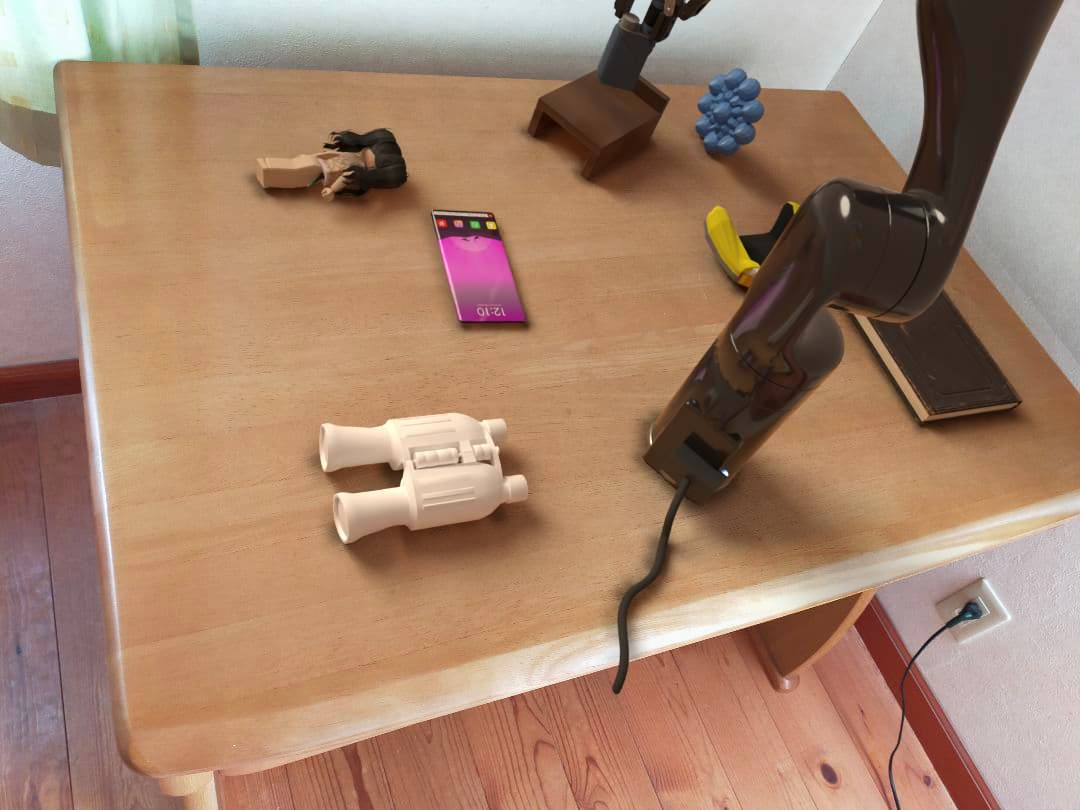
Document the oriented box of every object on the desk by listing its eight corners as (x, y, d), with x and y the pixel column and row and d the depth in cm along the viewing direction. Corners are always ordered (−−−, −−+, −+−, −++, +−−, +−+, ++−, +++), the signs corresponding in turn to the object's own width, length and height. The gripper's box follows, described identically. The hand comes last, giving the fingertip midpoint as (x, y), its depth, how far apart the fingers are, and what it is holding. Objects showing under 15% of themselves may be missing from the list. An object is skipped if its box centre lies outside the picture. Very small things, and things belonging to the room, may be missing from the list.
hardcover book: (918, 425, 100) (931, 414, 98) (822, 273, 110) (832, 260, 109) (1012, 410, 106) (1026, 400, 105) (912, 268, 117) (924, 256, 116)
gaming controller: (685, 235, 106) (724, 298, 102) (706, 201, 102) (747, 265, 97) (778, 228, 113) (819, 286, 109) (801, 196, 109) (844, 255, 104)
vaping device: (635, 94, 105) (678, 2, 96) (594, 82, 104) (633, -13, 95) (634, 81, 107) (676, -11, 97) (593, 69, 105) (632, -25, 96)
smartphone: (492, 218, 97) (494, 212, 96) (526, 324, 89) (529, 318, 89) (428, 215, 94) (430, 209, 93) (458, 325, 86) (460, 319, 86)
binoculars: (313, 442, 74) (320, 411, 70) (488, 422, 81) (502, 393, 77) (339, 554, 69) (348, 527, 66) (523, 522, 76) (540, 496, 72)
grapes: (751, 180, 117) (800, 106, 108) (710, 179, 114) (756, 103, 105) (715, 121, 123) (758, 46, 114) (675, 120, 120) (716, 42, 111)
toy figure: (280, 223, 87) (415, 195, 95) (279, 170, 83) (421, 145, 90) (253, 180, 91) (385, 157, 98) (250, 127, 86) (389, 107, 93)
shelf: (587, 180, 106) (608, 134, 101) (526, 131, 108) (544, 83, 103) (648, 142, 115) (670, 98, 109) (591, 97, 117) (610, 51, 111)
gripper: (630, -161, 85) (571, 0, 99) (745, -81, 83) (668, 74, 96) (669, -170, 90) (608, -14, 103) (779, -93, 87) (702, 56, 101)
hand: (638, 28), depth 99 cm, fingers closed on vaping device, 4 cm apart
